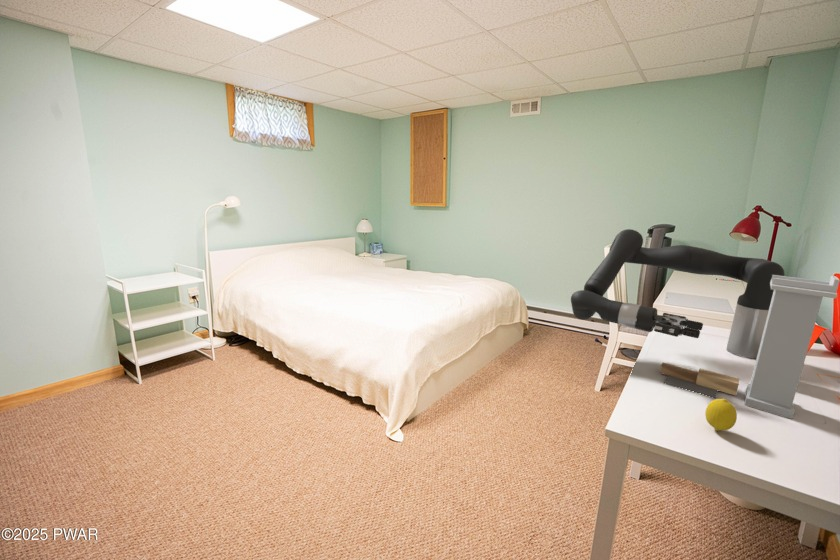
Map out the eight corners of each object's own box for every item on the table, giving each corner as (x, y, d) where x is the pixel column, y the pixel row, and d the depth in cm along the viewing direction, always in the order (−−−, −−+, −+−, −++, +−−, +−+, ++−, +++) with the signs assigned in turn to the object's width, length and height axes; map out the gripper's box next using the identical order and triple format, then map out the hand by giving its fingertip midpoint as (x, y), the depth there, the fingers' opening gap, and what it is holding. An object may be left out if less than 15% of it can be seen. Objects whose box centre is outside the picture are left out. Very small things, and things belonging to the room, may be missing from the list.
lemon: (696, 423, 90) (703, 392, 88) (718, 423, 90) (725, 392, 89) (716, 438, 84) (723, 405, 83) (738, 437, 85) (747, 405, 83)
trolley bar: (661, 369, 117) (663, 358, 116) (736, 390, 106) (739, 378, 105) (659, 373, 114) (661, 362, 113) (736, 395, 103) (738, 383, 102)
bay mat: (671, 367, 120) (672, 366, 119) (719, 380, 112) (719, 379, 112) (663, 383, 109) (663, 381, 109) (715, 398, 102) (715, 396, 102)
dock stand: (743, 389, 107) (773, 268, 100) (797, 404, 100) (834, 274, 93) (742, 404, 99) (775, 273, 91) (800, 421, 92) (841, 281, 84)
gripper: (640, 322, 124) (700, 336, 114) (629, 334, 113) (695, 350, 103) (644, 300, 122) (706, 312, 112) (633, 310, 112) (701, 324, 101)
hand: (700, 330), depth 107 cm, fingers open, 8 cm apart
